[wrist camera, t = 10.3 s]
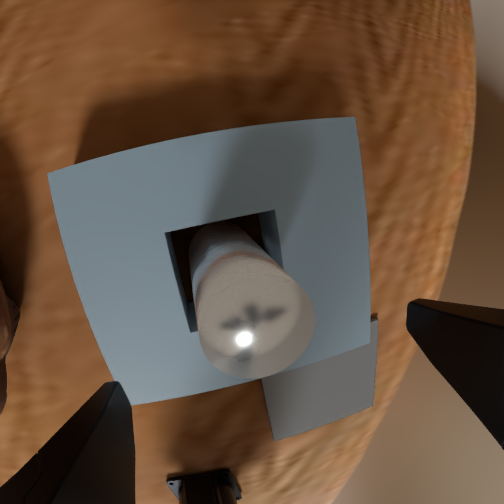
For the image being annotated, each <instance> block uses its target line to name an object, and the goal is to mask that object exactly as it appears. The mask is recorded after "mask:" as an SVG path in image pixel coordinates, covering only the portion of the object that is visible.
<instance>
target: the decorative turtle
mask: <svg viewBox="0 0 504 504" xmlns="http://www.w3.org/2000/svg"><path fill="white" fill-rule="evenodd" d="M19 319H20V311H19V308H18V306H17V305H16V303H15V302H14V301H12V300H11V299H10V298H9V297H8V296H7V295H6V293H5V291H4V288H3V285H2V283H1V280H0V414H1V413H2V411H3V408H4V406H5V403H6V398H7V392H6V390H7V372H6V364H5V357H6V355H7V353H8V350H9V348H10V346H11V344H12V341H13V338H14V336H15V332H16V329H17V326H18V321H19Z"/></svg>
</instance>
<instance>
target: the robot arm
mask: <svg viewBox="0 0 504 504" xmlns="http://www.w3.org/2000/svg"><path fill="white" fill-rule="evenodd" d="M406 327H407V330H408V332H409V333H410V334H411V336H412V337H413V339H414V340H415V341H416V343H417V344H418V345H419V347H420V348H421V350H422V351H423V352H424V354H425V355H426V356H427V358H428V359H429V361H430V362H431V363H432V364H433V366H434V367H435V368H436V369H437V370H438V371H439V372H440V373H441V375H442V376H443V377H444V378H445V379H446V380H447V382H448V383H449V384H450V385H451V386H452V387H453V388H454V390H455V391H456V392H457V393H458V394H459V396H460V397H461V398H462V399H463V400H464V401H465V403H466V404H467V405H468V406H469V407H470V409H471V410H472V411H473V412H474V413H475V415H476V416H477V417H478V418H479V420H480V421H481V422H482V423H483V424H484V426H485V427H486V428H487V429H488V431H489V432H490V433H491V434H492V436H493V437H494V438H495V439H496V441H497V442H498V443H499V444H500V446H502V449H503V450H504V309H496V308H488V307H481V306H473V305H465V304H458V303H450V302H442V301H435V300H428V299H421V298H419V299H416V300H413V301H411V302H409V303H408V306H407V319H406ZM166 483H167V485H168V487H169V488H170V489H171V491H172V492H173V493H174V495H175V496H176V497H177V499H178V500H179V504H237V501H236V500H240V499H241V498H242V497H241V494H240V491H239V489H238V487H237V485H236V482H235V480H234V478H233V476H232V473H231V471H230V470H229V469H222V470H217V471H212V472H207V473H201V474H196V475H189V476H183V477H176V478H169V479H167V480H166ZM0 504H135V443H134V432H133V420H132V408H131V404H130V401H129V399H128V397H127V395H126V393H125V391H124V389H123V387H122V385H121V384H120V382H118V381H112V382H106V383H104V384H103V385H102V386H101V387H100V388H99V389H98V390H97V391H96V392H95V393H94V394H93V395H92V396H91V397H90V399H89V400H88V401H87V402H86V403H85V404H84V405H83V406H82V407H81V408H80V409H79V410H78V411H77V412H76V413H75V414H74V415H73V416H72V417H71V418H70V419H69V420H68V421H67V422H66V423H65V424H64V425H63V426H62V427H61V428H60V429H59V430H58V431H57V432H56V433H55V434H54V435H53V436H52V437H51V438H50V439H49V441H48V442H47V443H46V444H45V445H44V446H43V447H42V448H41V449H40V450H39V451H38V454H37V453H36V454H35V455H34V456H33V457H32V458H31V459H30V460H29V461H28V462H27V463H26V464H25V465H24V466H23V467H22V468H21V469H20V470H19V471H18V472H17V473H16V474H15V475H14V476H13V477H11V478H10V479H9V480H8V481H7V482H6V483H5V484H3V485H2V486H1V487H0Z"/></svg>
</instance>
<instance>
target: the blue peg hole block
mask: <svg viewBox="0 0 504 504" xmlns="http://www.w3.org/2000/svg"><path fill="white" fill-rule="evenodd" d="M48 180H49V185H50V190H51V195H52V200H53V204H54V209H55V213H56V218H57V222H58V226H59V230H60V234H61V237H62V241H63V245H64V248H65V252H66V255H67V259H68V262H69V265H70V269H71V272H72V275H73V278H74V281H75V284H76V287H77V290H78V293H79V296H80V299H81V302H82V304H83V307H84V310H85V313H86V315H87V318H88V320H89V323H90V326H91V328H92V331H93V333H94V336H95V338H96V340H97V343H98V345H99V348H100V350H101V352H102V355H103V357H104V359H105V361H106V364H107V366H108V368H109V370H110V372H111V374H112V376H113V379H114V381H118V382H120V384H121V385H122V387H123V389H124V391H125V393H126V395H127V397H128V399H129V401H130V404H131V405H137V404H144V403H150V402H156V401H162V400H168V399H173V398H178V397H183V396H189V395H193V394H198V393H203V392H208V391H212V390H217V389H221V388H225V387H229V386H233V385H238V384H242V383H245V382H249V381H253V380H257V379H261V378H239V377H234V376H231V375H228V374H226V373H224V372H222V371H220V370H219V369H217V368H216V367H215V366H214V365H213V364H212V363H211V362H210V361H209V360H208V359H207V357H206V356H205V354H204V352H203V350H202V347H201V344H200V339H199V333H198V326H197V319H196V312H195V305H194V302H189V303H187V299H186V295H185V291H184V287H183V283H182V279H181V275H180V271H179V267H178V263H177V259H176V255H175V251H174V246H173V242H172V238H171V233H170V231H174V230H179V229H183V228H188V227H193V226H197V225H202V224H206V223H211V222H216V221H221V220H225V219H230V218H235V217H240V216H245V215H250V214H255V213H258V215H259V221H260V227H261V233H262V239H263V246H264V251H265V252H266V253H267V254H268V255H269V256H270V257H271V258H272V259H273V260H274V261H275V262H276V263H277V264H278V265H279V266H280V267H281V268H282V269H283V270H284V271H285V272H286V273H287V274H288V275H289V276H290V277H291V278H292V279H293V280H294V281H295V282H296V283H297V284H298V285H299V286H300V287H301V288H302V289H303V290H304V291H305V292H306V293H307V295H308V296H309V298H310V300H311V302H312V304H313V307H314V312H315V328H314V332H313V336H312V338H311V341H310V343H309V344H308V346H307V348H306V349H305V351H304V352H303V353H302V355H301V356H300V357H299V358H298V359H297V360H296V361H295V362H294V363H292V364H291V365H290V366H288V367H287V368H285V369H283V370H282V371H280V372H277V373H275V374H279V373H282V372H285V371H289V370H292V369H295V368H299V367H302V366H305V365H308V364H311V363H314V362H317V361H321V360H324V359H327V358H329V357H332V356H335V355H338V354H341V353H344V352H347V351H349V350H352V349H355V348H358V347H360V346H363V345H366V344H368V343H370V318H371V299H370V259H369V239H368V224H367V211H366V199H365V189H364V179H363V170H362V162H361V154H360V147H359V140H358V133H357V126H356V120H355V117H339V118H323V119H310V120H298V121H288V122H279V123H270V124H262V125H254V126H247V127H240V128H233V129H226V130H220V131H214V132H208V133H203V134H197V135H192V136H187V137H182V138H177V139H172V140H167V141H163V142H158V143H154V144H149V145H145V146H141V147H137V148H133V149H129V150H125V151H121V152H117V153H113V154H110V155H106V156H102V157H99V158H95V159H92V160H88V161H85V162H82V163H78V164H75V165H72V166H69V167H66V168H63V169H60V170H57V171H54V172H51V173H48ZM275 374H273V375H275ZM270 376H272V375H270ZM266 377H268V376H266ZM262 378H264V377H262Z"/></svg>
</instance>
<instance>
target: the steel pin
mask: <svg viewBox="0 0 504 504" xmlns="http://www.w3.org/2000/svg"><path fill="white" fill-rule="evenodd" d="M189 264H190V273H191V281H192V289H193V297H194V305H195V312H196V319H197V326H198V333H199V339H200V344H201V347H202V350H203V352H204V354H205V356H206V357H207V359H208V360H209V361H210V362H211V363H212V364H213V365H214V366H215V367H216V368H217V369H219V370H220V371H222V372H224V373H226V374H228V375H231V376H234V377H239V378H262V377H266V376H270V375H273V374H275V373H277V372H280V371H282V370H283V369H285V368H287V367H288V366H290V365H291V364H292V363H294V362H295V361H296V360H297V359H298V358H299V357H300V356H301V355H302V353H303V352H304V351H305V349H306V348H307V346H308V344H309V343H310V341H311V338H312V336H313V332H314V328H315V312H314V307H313V304H312V302H311V300H310V298H309V296H308V295H307V293H306V292H305V291H304V290H303V289H302V288H301V287H300V286H299V285H298V284H297V283H296V282H295V281H294V280H293V279H292V278H291V277H290V276H289V275H288V274H287V273H286V272H285V271H284V270H283V269H282V268H281V267H280V266H279V265H278V264H277V263H276V262H275V261H274V260H273V259H272V258H271V257H270V256H269V255H268V254H267V253H266V252H265V251H264V250H263V249H262V248H261V247H260V246H259V245H258V244H257V243H256V242H255V241H254V240H253V239H252V238H251V237H250V236H248V235H247V234H246V233H245V232H244V231H243V230H242V229H241V228H240V227H238V226H237V225H235V224H232V223H229V222H214V223H210V224H208V225H206V226H204V227H203V228H201V229H200V230H199V231H198V232H197V233H196V234H195V235H194V237H193V239H192V240H191V243H190V246H189Z"/></svg>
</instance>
